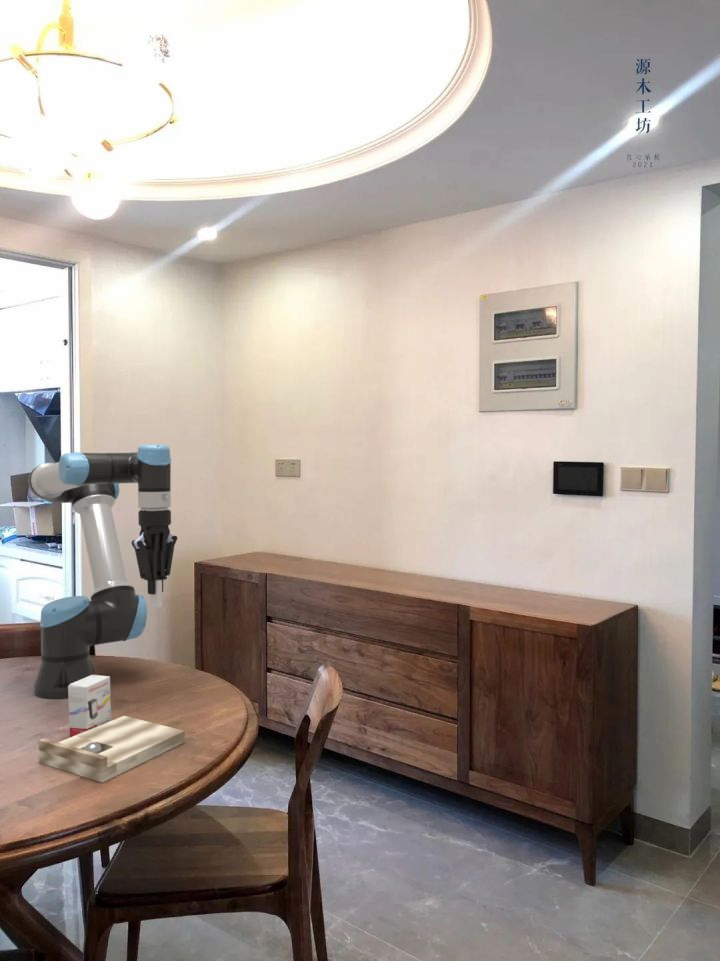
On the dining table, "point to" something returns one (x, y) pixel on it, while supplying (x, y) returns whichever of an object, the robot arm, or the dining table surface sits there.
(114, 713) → the dining table surface
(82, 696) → the ink box
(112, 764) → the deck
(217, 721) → the dining table surface
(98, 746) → the ball
